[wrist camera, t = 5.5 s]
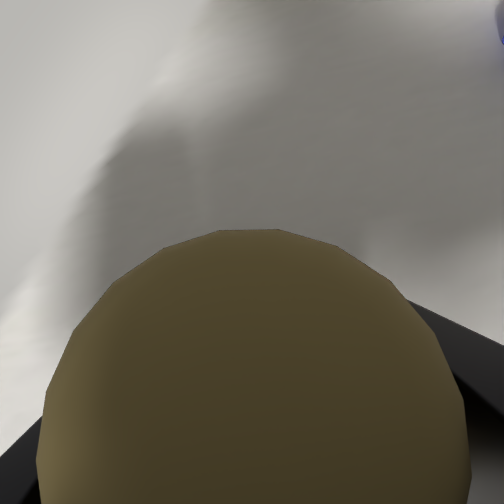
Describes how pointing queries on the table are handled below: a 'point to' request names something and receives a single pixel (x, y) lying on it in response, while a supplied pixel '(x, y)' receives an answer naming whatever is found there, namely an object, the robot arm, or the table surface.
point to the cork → (253, 385)
